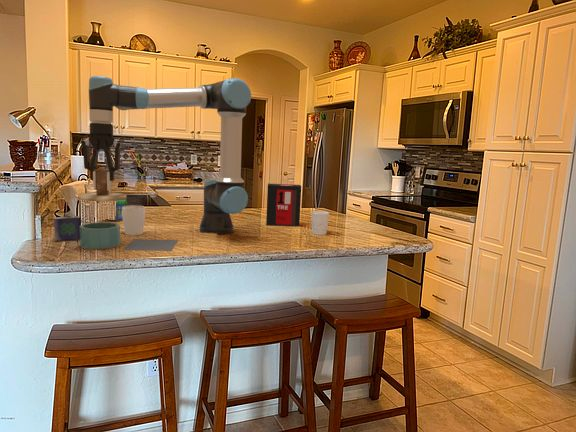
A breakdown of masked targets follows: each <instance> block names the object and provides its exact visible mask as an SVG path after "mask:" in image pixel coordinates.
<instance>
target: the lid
mask: <svg viewBox="0 0 576 432" xmlns="http://www.w3.org/2000/svg"><path fill="white" fill-rule="evenodd" d="M95 171H96V190H95V191H96V192H95V191H94V192H84V193H83V192H82V193H79V194H78V193H77V199H78V200H79V201H86V202H102V201H120V200H127V197H128V196H127V194H126V193H120V192H110V190H109V191H108V190H107V172H109V169H105V168H103V169H102V168H101V169H99V168H98V169H96V170H95Z"/></svg>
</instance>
